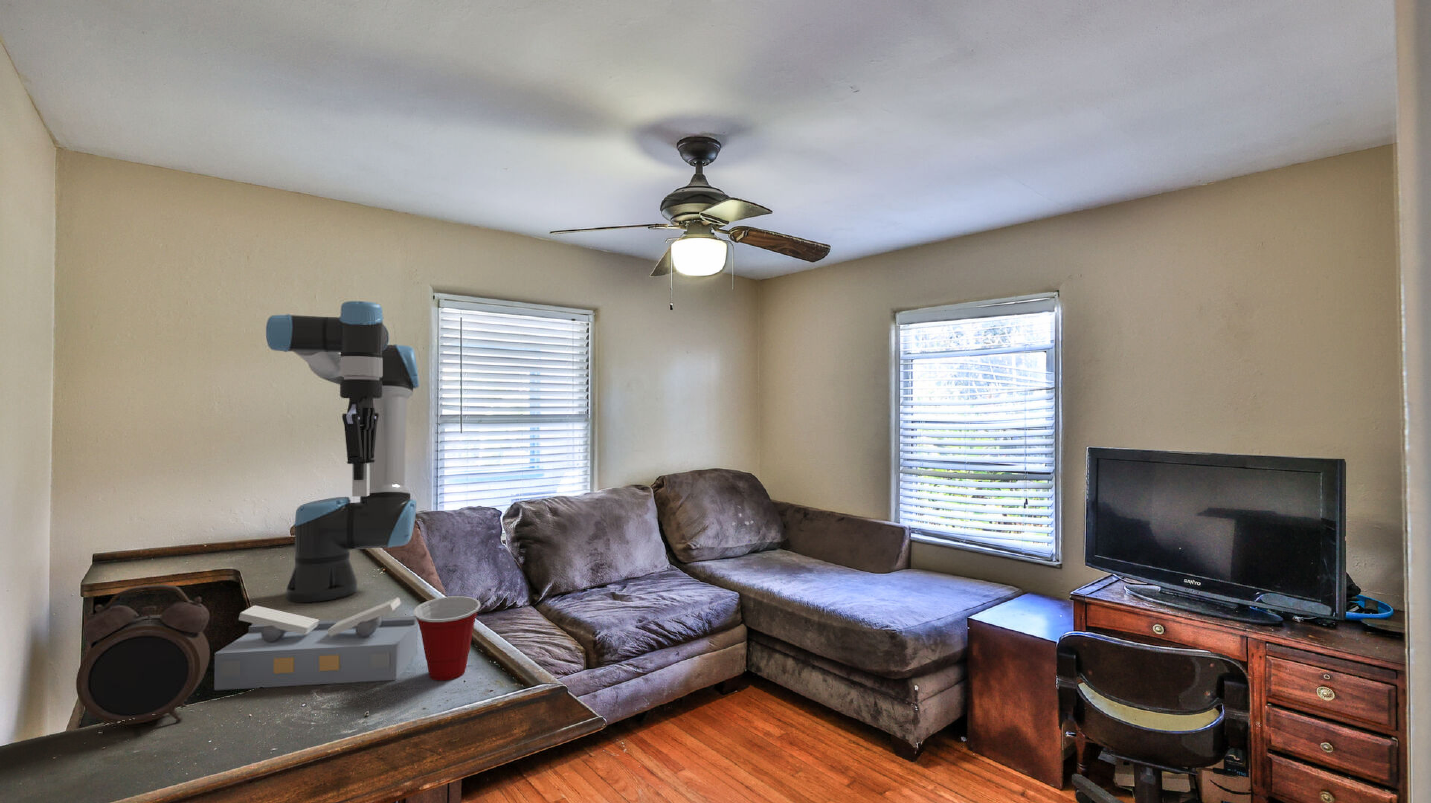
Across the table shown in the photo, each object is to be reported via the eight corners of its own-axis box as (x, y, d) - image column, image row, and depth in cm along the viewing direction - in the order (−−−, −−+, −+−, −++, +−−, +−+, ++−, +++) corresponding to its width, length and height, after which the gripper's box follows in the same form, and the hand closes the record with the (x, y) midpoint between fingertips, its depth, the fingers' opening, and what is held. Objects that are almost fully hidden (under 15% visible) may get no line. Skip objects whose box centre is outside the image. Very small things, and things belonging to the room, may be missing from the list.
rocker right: (345, 640, 118) (337, 621, 118) (406, 615, 120) (398, 596, 119) (335, 649, 114) (327, 630, 113) (398, 623, 115) (390, 604, 115)
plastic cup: (407, 691, 107) (407, 617, 107) (418, 665, 118) (419, 598, 118) (477, 683, 110) (477, 611, 110) (483, 659, 120) (483, 594, 120)
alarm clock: (69, 746, 89) (70, 599, 90) (90, 723, 96) (91, 586, 96) (201, 723, 96) (202, 586, 96) (213, 703, 102) (214, 575, 103)
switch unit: (254, 661, 119) (254, 623, 119) (417, 653, 123) (417, 616, 123) (213, 690, 107) (213, 647, 107) (395, 680, 111) (395, 638, 111)
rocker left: (248, 625, 116) (254, 605, 116) (312, 639, 117) (319, 619, 117) (233, 634, 111) (240, 612, 111) (301, 648, 113) (307, 627, 113)
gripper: (354, 380, 138) (353, 492, 138) (327, 377, 126) (326, 500, 125) (392, 380, 140) (391, 491, 139) (369, 377, 127) (368, 500, 126)
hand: (360, 495), depth 132 cm, fingers closed
